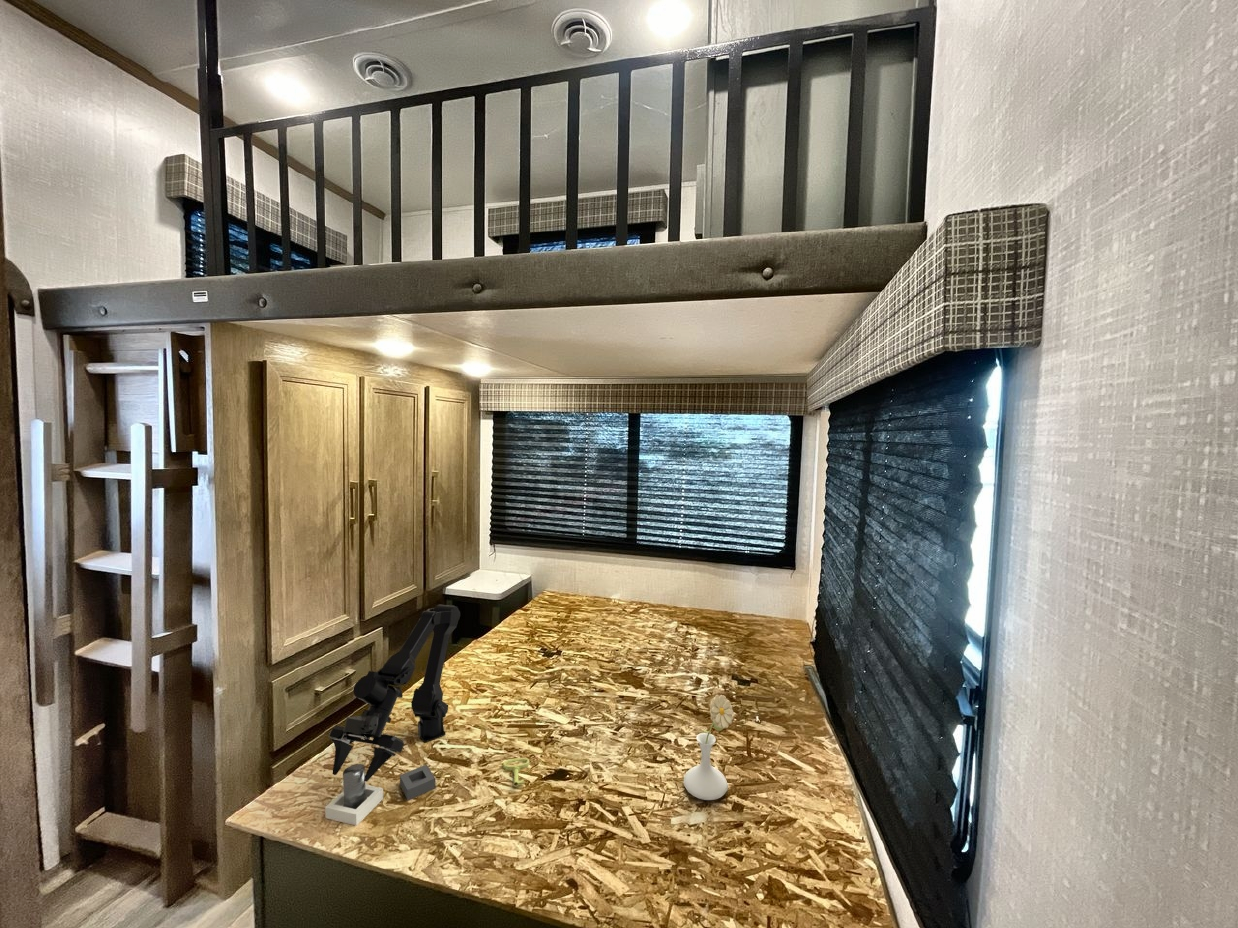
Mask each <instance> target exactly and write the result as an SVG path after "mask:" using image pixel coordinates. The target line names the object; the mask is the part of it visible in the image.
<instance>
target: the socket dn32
mask: <svg viewBox="0 0 1238 928" xmlns="http://www.w3.org/2000/svg"><path fill="white" fill-rule="evenodd" d="M436 784H437V783H436V777H435V775H434V774H433V772H432V771H431V769H430V767H429V766H428V764H424V765H422V766H420V767H416V768H415V769H414V768H413V769H412V770H409V771H407V772H404V773H401V774H399V786H400V788H401V791H402V792H403V794H404V796H405V798H406V799H407V801H410V800H413V799H415V798H417V797H419V796H422V795H423V794H427V793H429V792H430V791H433V790H435V789H436V787H437V786H436Z"/></svg>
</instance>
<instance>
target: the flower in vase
mask: <svg viewBox="0 0 1238 928" xmlns="http://www.w3.org/2000/svg"><path fill="white" fill-rule="evenodd" d="M709 708H710V710H709V713H710V720H711V721H712V722H711V726H710V727H709V730H705V729H701V728H699V731H700V732H701V733H698V734H697V735H696V741H697V742H698V744H699V746H700V747H699V748H700V753H701V758H700V759H701V760H700V764H698V765H695V766H693V767H691V768H689V770H687V771H686V773H685V774H684V777H683V785H684V788H686V790H687V792H688V793H689V794H690V795H692V796H693V797H695V798H697V799H699V800H703V801H714V800H718V799H720V798H722V797H723V796H724V795H725V794H726V793H727V791H728V788H729V785H728V782H727V779H726V776H725V775H724V774H723V772H721V771H720V770H719V769H718V768H715V766H713V765H712V764H711V751H712V747H713V746H714V744H715V743H716V741H717V739H716V737H715V735H713V734H712V733H711V730H712V728H714V729H715V730H716V731H717V732H721V731H723V730H724V729H728V728H729V726H730V725H731V724H732V723H733V720H734V716H733V715H734V710H733V705H732V703H731V701H730V700H728V699H727V697H726V696H725V695H722V694H720V695H719V694H716V695H715V696H714V697H713V699H712V700H711V701H710V704H709ZM729 724H730V725H729Z"/></svg>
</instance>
